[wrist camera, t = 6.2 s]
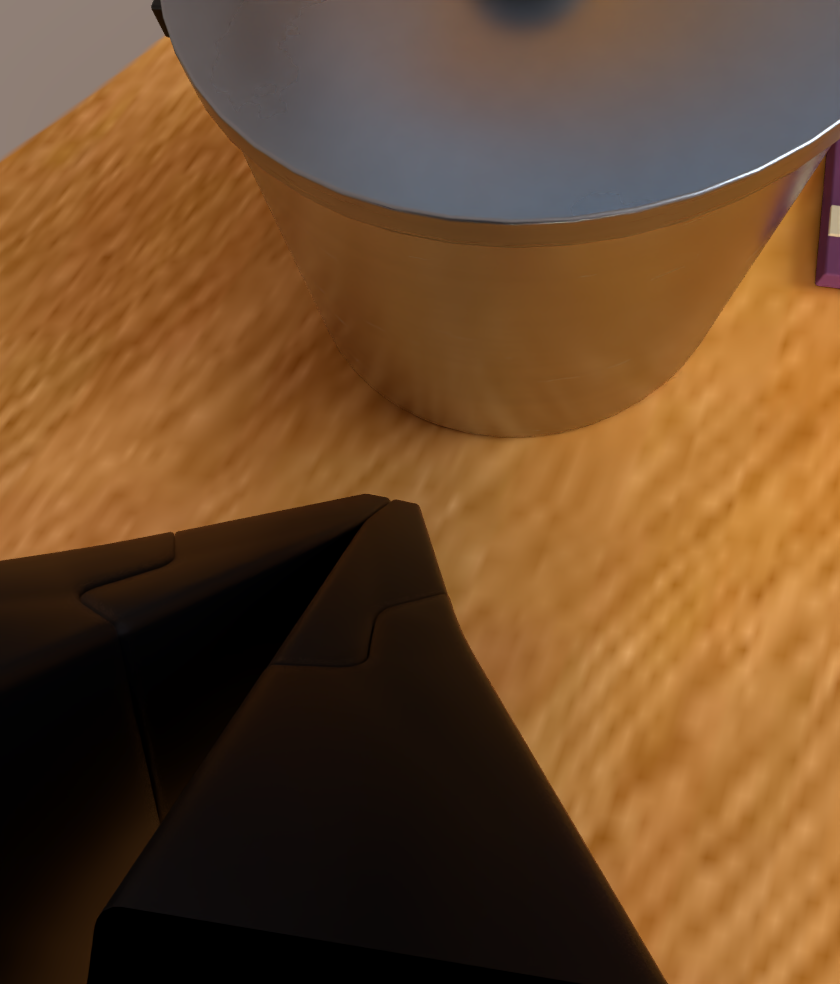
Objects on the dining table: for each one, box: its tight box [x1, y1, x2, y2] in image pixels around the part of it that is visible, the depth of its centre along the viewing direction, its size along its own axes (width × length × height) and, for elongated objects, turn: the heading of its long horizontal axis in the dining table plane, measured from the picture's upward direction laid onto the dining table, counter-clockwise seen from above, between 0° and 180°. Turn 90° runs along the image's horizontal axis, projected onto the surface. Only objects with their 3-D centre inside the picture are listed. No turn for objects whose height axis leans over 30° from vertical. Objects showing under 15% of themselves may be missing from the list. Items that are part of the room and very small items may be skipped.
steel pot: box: [151, 0, 840, 437], centre depth 14 cm, size 14×16×11 cm
